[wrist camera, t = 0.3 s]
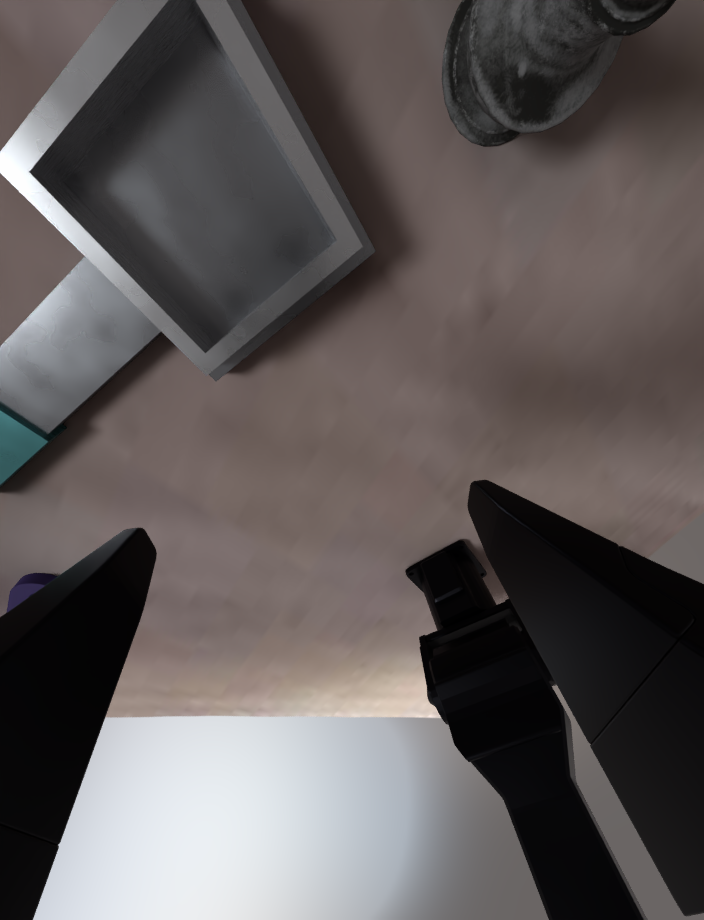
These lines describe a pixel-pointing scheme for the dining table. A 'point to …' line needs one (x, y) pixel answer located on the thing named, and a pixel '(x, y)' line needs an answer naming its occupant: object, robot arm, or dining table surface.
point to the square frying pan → (167, 209)
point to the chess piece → (532, 60)
